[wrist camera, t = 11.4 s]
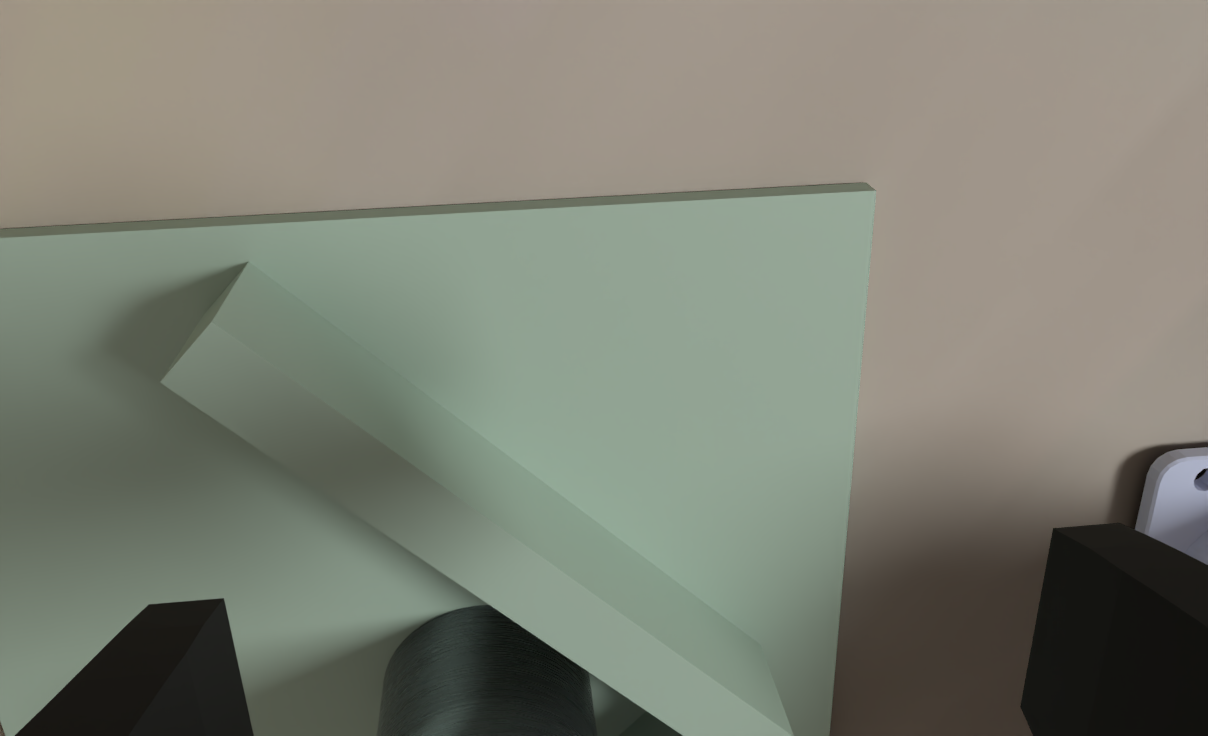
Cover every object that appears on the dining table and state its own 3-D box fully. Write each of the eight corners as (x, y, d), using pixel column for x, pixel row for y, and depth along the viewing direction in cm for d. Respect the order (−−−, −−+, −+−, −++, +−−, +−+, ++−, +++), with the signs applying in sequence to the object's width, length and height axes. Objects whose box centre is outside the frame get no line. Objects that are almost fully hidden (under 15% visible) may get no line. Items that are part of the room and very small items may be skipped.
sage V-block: (866, 182, 18) (936, 236, 15) (803, 950, 26) (841, 1077, 23) (-148, 236, 16) (-274, 308, 13) (122, 1030, 24) (77, 1175, 21)
